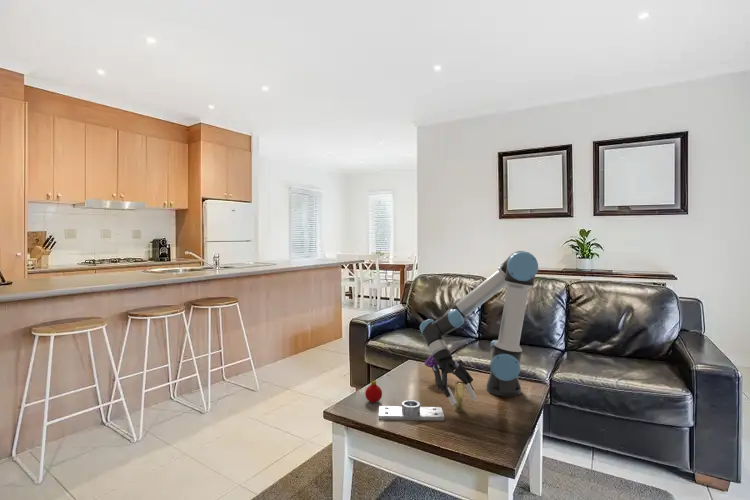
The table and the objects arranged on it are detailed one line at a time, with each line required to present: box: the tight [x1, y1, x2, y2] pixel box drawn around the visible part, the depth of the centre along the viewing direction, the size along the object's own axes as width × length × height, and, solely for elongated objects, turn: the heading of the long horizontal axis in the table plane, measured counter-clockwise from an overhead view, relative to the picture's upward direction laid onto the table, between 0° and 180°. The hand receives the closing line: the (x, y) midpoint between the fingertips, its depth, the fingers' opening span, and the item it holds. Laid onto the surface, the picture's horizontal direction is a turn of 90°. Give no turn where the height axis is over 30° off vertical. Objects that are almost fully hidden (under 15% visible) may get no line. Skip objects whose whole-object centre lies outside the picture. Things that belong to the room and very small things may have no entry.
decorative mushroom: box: [423, 354, 437, 382], centre depth 197 cm, size 12×12×15 cm
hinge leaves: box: [378, 399, 445, 422], centre depth 159 cm, size 25×9×4 cm, turn 88°
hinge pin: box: [454, 381, 465, 413], centre depth 163 cm, size 4×4×11 cm
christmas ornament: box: [364, 378, 383, 403], centre depth 171 cm, size 7×7×10 cm
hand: (464, 401), depth 161 cm, fingers open, 10 cm apart
